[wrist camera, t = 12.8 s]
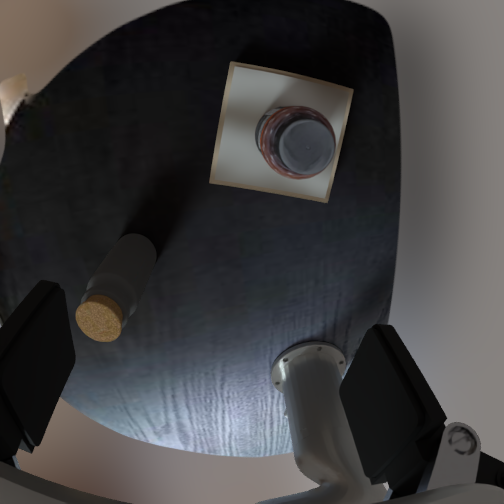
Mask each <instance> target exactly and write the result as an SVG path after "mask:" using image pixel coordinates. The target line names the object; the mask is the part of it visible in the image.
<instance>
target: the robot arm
mask: <svg viewBox="0 0 504 504" xmlns="http://www.w3.org/2000/svg"><path fill="white" fill-rule="evenodd" d="M75 359H76V355H75V350H74V345H73V340H72V335H71V329H70V324H69V318H68V311H67V305H66V298H65V292H64V290H63V289H61V288H60V285H59V284H58V283H55V282H51V281H46V280H41V281H39V282H38V283H37V285H36V286H35V287H34V288H33V289H32V290H31V291H30V293H29V294H28V295H27V296H26V297H25V298H24V300H23V301H22V302H21V303H20V304H19V306H18V307H17V308H16V309H15V311H14V312H13V313H12V314H11V315H10V317H9V318H8V319H7V320H6V322H5V323H4V324H3V326H2V327H1V328H0V504H131V503H126V502H121V501H117V500H112V499H108V498H104V497H100V496H96V495H93V494H89V493H86V492H82V491H79V490H76V489H72V488H69V487H66V486H63V485H60V484H57V483H54V482H51V481H48V480H45V479H42V478H40V477H37V476H34V475H32V474H29V473H27V472H24V471H22V470H21V469H20V467H19V464H18V461H17V458H16V456H15V455H16V453H17V450H18V448H19V449H22V450H24V451H26V452H29V453H32V452H33V450H34V447H35V446H39V445H40V443H41V441H42V439H43V436H44V434H45V431H46V428H47V426H48V423H49V421H50V418H51V416H52V414H53V411H54V409H55V406H56V404H57V402H58V400H59V397H60V395H61V393H62V391H63V388H64V386H65V384H66V382H67V380H68V377H69V375H70V373H71V371H72V369H73V367H74V364H75ZM345 368H346V361H345V357H344V355H343V353H342V352H341V350H340V349H339V348H338V347H336V346H334V345H333V344H330V343H326V342H319V341H315V342H306V343H302V344H299V345H296V346H294V347H291V348H289V349H288V350H286V351H285V352H283V353H282V354H281V355H280V356H279V357H278V358H277V359H276V360H275V362H274V363H273V365H272V368H271V380H272V383H273V385H274V387H275V388H276V389H277V390H278V391H280V392H282V393H283V394H284V399H285V405H286V410H285V412H284V415H285V416H286V417H287V418H288V422H289V428H290V434H291V439H292V445H293V451H294V457H295V461H296V464H297V466H298V468H299V469H300V471H301V472H302V473H303V474H304V475H305V476H307V477H308V478H309V479H311V480H313V481H314V482H316V483H317V484H319V485H321V486H319V487H317V488H315V489H311V490H309V491H305V492H301V493H297V494H292V495H288V496H283V497H278V498H274V499H269V500H265V501H261V502H258V503H256V504H504V463H503V462H502V461H499V460H497V459H495V458H493V457H491V456H489V455H487V454H485V453H483V452H481V451H480V450H481V443H480V439H479V437H478V435H477V433H476V432H475V431H474V430H473V429H472V428H471V427H470V426H468V425H466V424H464V423H460V422H454V423H451V424H449V425H448V426H447V427H445V425H444V422H445V421H446V419H447V417H446V415H445V413H444V411H443V410H442V408H441V406H440V404H439V402H438V400H437V399H436V397H435V395H434V393H433V392H432V390H431V388H430V387H429V385H428V383H427V381H426V380H425V378H424V376H423V374H422V373H421V371H420V369H419V368H418V366H417V365H416V363H415V361H414V359H413V358H412V356H411V355H410V353H409V351H408V350H407V348H406V346H405V345H404V343H403V342H402V340H401V338H400V337H399V335H398V334H397V332H396V330H395V329H394V327H393V326H392V325H382V324H375V325H373V326H372V328H370V329H368V330H367V332H366V334H365V336H364V338H363V340H362V342H361V344H360V347H359V349H358V351H357V353H356V355H355V357H354V359H353V361H352V363H351V365H350V367H349V369H348V371H347V373H346V375H345V377H344V379H343V380H342V375H343V374H344V371H345ZM386 482H388V485H389V489H388V491H387V490H386V489H385V487H384V485H383V483H386Z"/></svg>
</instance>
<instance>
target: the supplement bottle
mask: <svg viewBox="0 0 504 504" xmlns="http://www.w3.org/2000/svg"><path fill="white" fill-rule="evenodd" d="M255 142H256V145H257V148H258V150H259V151H260V153H261V154H262V156H263V158H264V159H265V161H266V162H267V163H268V165H269V166H270V167H271V168H272V169H273V170H274V171H275V172H277V173H278V174H280V175H282V176H284V177H287V178H290V179H296V180H302V179H308V178H311V177H314V176H316V175H318V174H320V173H321V172H322V171H323V170H325V169H326V168H327V166H328V165H329V164H330V162H331V161H332V158H333V156H334V153H335V149H336V137H335V133H334V130H333V127H332V125H331V124H330V122H329V121H328V120H327V118H326V117H325V116H324V115H323V114H321V113H320V112H318V111H316V110H314V109H312V108H309V107H305V106H287V107H281V106H279V107H277V108H275V109H272V110H270V111H268V112H267V113H266V114H264V115H263V116H262V117H261V118H260V120H259V122H258V124H257V126H256V129H255Z"/></svg>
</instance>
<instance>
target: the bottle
mask: <svg viewBox="0 0 504 504" xmlns="http://www.w3.org/2000/svg"><path fill="white" fill-rule="evenodd" d="M156 258H157V254H156V249H155V247H154V245H153V244H152V242H151V241H150V240H149V239H148V238H146V237H145V236H143V235H140V234H135V233H131V234H127V235H125V236H123V237H121V238H120V239H119V240H118V242H117V243H116V244H115V245H114V247H113V248H112V249H111V251H110V252H109V253H108V255H107V256H106V258H105V259H104V260H103V262H102V263H101V264H100V266H99V267H98V269H97V270H96V271H95V273H94V274H93V276H92V277H91V279H90V281H89V283H88V285H87V291H86V292H85V294H84V295H83V297H82V300H81V305H80V306H79V307H78V309H77V311H76V320H77V323H78V325H79V327H80V328H81V330H82V331H83V332H84V333H85V334H86V335H88V336H89V337H91V338H92V339H95V340H97V341H101V342H109V341H113V340H115V339H116V338H117V337H118V336H119V335H120V333H121V329H122V328H123V327H124V326H125V325H126V323H127V321H128V319H129V316H130V315H132V314H133V313H134V311H135V310H136V308H137V306H138V304H139V301H140V299H141V296H142V294H143V292H144V289H145V287H146V284H147V282H148V280H149V277H150V275H151V272H152V270H153V268H154V265H155V263H156Z"/></svg>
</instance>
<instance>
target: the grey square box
mask: <svg viewBox="0 0 504 504" xmlns="http://www.w3.org/2000/svg"><path fill="white" fill-rule="evenodd" d="M353 90H354V89H350V88H347V87H344V86H340V85H337V84H333V83H330V82H326V81H322V80H319V79H315V78H311V77H307V76H303V75H298V74H294V73H290V72H285V71H281V70H276V69H271V68H266V67H261V66H255V65H249V64H243V63H237V62H230V67H229V72H228V77H227V82H226V88H225V93H224V98H223V104H222V109H221V115H220V120H219V126H218V132H217V138H216V144H215V150H214V156H213V162H212V168H211V175H210V181H209V183H213V184H220V185H227V186H233V187H240V188H246V189H252V190H258V191H264V192H270V193H276V194H282V195H287V196H293V197H298V198H304V199H309V200H314V201H320V202H325V203H327V202H328V198H329V195H330V191H331V187H332V183H333V179H334V175H335V170H336V166H337V162H338V158H339V154H340V149H341V145H342V141H343V136H344V132H345V127H346V123H347V118H348V114H349V109H350V104H351V100H352V95H353ZM279 106H281V107H287V106H305V107H309V108H312V109H314V110H316V111H318V112H320V113H321V114H323V115H324V116H325V117H326V118H327V120H328V121H329V122H330V124H331V125H332V127H333V130H334V133H335V137H336V149H335V153H334V156H333V158H332V161H331V162H330V164H329V165H328V166H327V168H326V169H325V170H323V171H322V172H321V173H320V174H318V175H316V176H314V177H311V178H308V179H302V180H296V179H290V178H287V177H284V176H282V175H280V174H278V173H277V172H275V171H274V170H273V169H272V168H271V167H270V166H269V165H268V163H267V162H266V161H265V159H264V158H263V156H262V154H261V153H260V151H259V150H258V148H257V145H256V142H255V129H256V126H257V124H258V122H259V120H260V118H261V117H262V116H263V115H264V114H266V113H267V112H268V111H270V110H272V109H275V108H277V107H279Z"/></svg>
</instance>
